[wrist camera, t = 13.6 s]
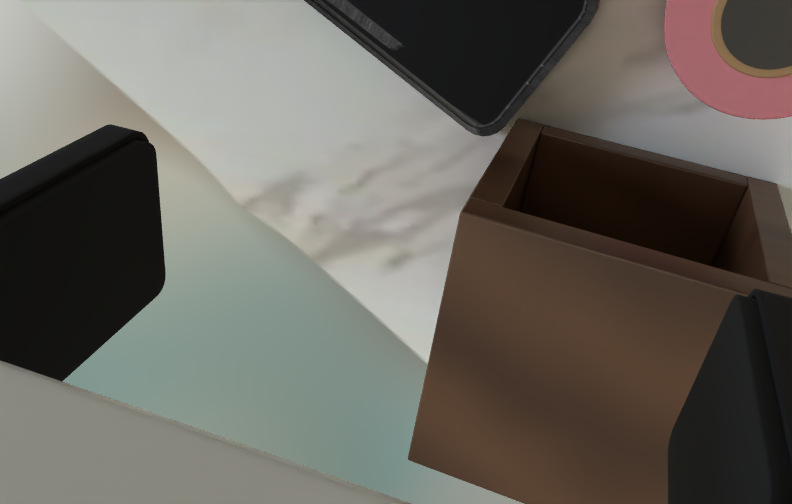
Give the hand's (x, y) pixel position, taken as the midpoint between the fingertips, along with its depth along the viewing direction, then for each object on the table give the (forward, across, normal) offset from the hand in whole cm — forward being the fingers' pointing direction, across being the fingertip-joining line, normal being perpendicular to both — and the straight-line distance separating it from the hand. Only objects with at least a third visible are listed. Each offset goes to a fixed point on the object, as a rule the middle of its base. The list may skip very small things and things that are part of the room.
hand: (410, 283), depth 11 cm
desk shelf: (+21, -4, +11) cm, 24 cm away
